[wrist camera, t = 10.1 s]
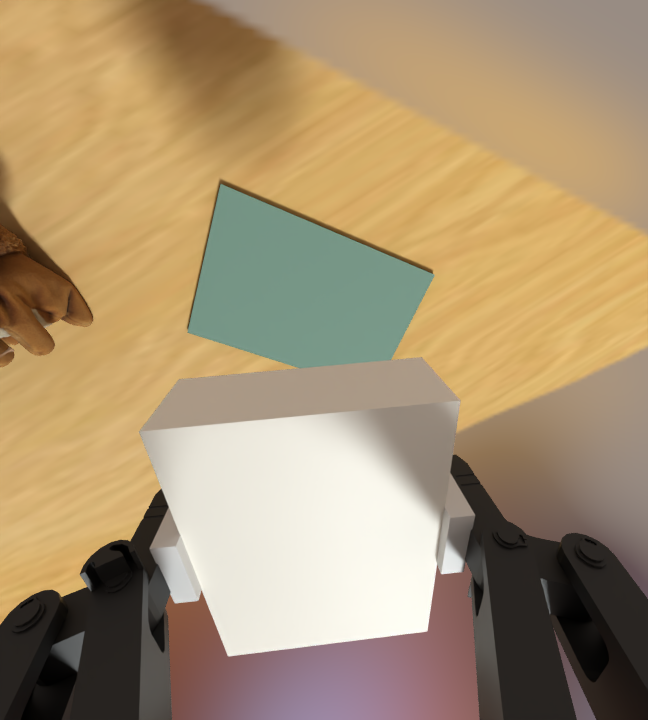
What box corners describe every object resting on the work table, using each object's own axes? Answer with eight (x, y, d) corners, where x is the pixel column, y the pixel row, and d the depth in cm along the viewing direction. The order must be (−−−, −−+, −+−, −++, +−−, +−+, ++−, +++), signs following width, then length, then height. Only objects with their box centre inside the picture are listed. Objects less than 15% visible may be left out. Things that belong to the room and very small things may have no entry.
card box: (228, 656, 12) (138, 431, 7) (241, 575, 15) (182, 375, 10) (426, 631, 12) (460, 400, 8) (404, 557, 15) (418, 353, 10)
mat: (188, 331, 35) (187, 332, 35) (221, 184, 30) (220, 183, 29) (373, 389, 40) (374, 391, 40) (433, 274, 35) (434, 274, 34)
